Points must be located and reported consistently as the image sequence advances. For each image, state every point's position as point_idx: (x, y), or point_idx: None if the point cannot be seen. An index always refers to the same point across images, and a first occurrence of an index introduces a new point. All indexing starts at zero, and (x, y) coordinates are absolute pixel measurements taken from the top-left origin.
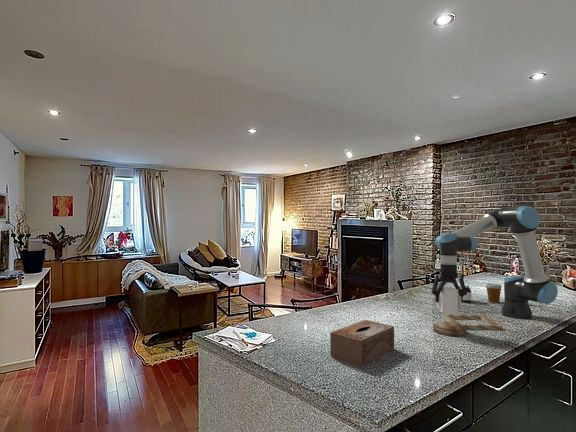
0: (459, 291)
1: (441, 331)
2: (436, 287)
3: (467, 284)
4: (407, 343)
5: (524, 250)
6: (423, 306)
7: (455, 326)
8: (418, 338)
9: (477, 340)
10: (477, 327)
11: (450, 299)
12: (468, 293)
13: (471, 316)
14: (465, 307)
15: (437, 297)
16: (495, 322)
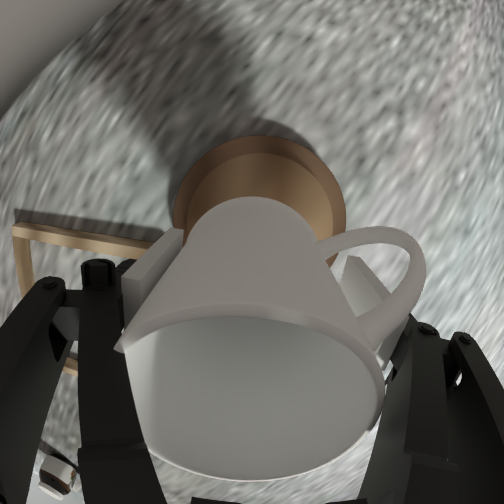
0: (109, 320)
1: (336, 182)
2: (487, 391)
3: (41, 488)
4: (500, 121)
5: None
6: (186, 477)
7: (240, 196)
8: (453, 155)
9: (202, 72)
10: (98, 237)
11: (297, 246)
12: (47, 469)
13: (71, 365)
14: (68, 437)
15: (408, 322)
16: (18, 268)
